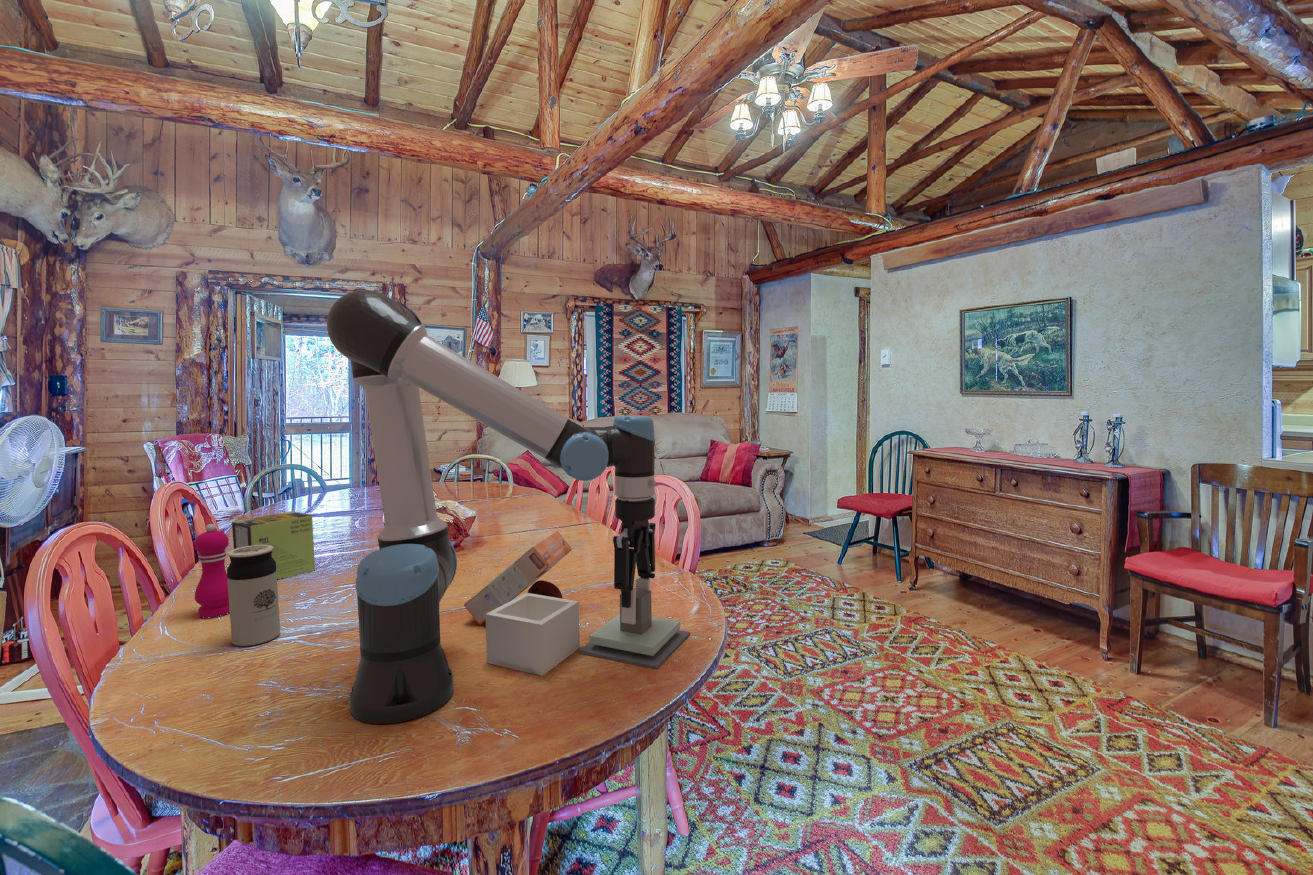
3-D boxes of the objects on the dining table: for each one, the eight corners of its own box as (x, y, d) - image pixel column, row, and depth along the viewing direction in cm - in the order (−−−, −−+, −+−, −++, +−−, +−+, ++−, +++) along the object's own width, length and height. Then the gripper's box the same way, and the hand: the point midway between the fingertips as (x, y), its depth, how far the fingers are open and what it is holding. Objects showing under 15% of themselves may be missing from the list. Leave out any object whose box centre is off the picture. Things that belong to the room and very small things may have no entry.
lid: (653, 661, 105) (652, 609, 104) (589, 648, 110) (588, 599, 110) (680, 633, 117) (680, 586, 116) (621, 623, 122) (621, 578, 122)
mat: (657, 669, 103) (657, 666, 103) (578, 652, 110) (578, 650, 110) (690, 634, 118) (690, 631, 118) (619, 621, 124) (619, 619, 124)
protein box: (316, 570, 161) (313, 514, 160) (253, 586, 148) (249, 525, 147) (296, 564, 167) (293, 510, 166) (234, 579, 154) (230, 521, 153)
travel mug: (226, 639, 117) (220, 550, 115) (272, 627, 123) (267, 542, 121) (239, 651, 112) (233, 557, 110) (286, 637, 118) (281, 548, 116)
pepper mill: (240, 612, 131) (234, 523, 129) (199, 622, 126) (193, 529, 124) (232, 604, 136) (226, 518, 134) (192, 613, 131) (186, 524, 129)
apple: (524, 613, 130) (523, 577, 129) (559, 608, 132) (558, 573, 131) (528, 626, 123) (527, 588, 122) (565, 620, 125) (565, 584, 124)
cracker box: (479, 627, 123) (550, 567, 118) (461, 605, 123) (531, 544, 119) (509, 603, 136) (574, 548, 132) (493, 583, 137) (557, 528, 132)
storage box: (542, 675, 101) (541, 624, 100) (486, 662, 106) (485, 614, 105) (579, 647, 112) (578, 601, 111) (527, 637, 117) (526, 592, 116)
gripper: (630, 507, 102) (631, 638, 103) (672, 490, 118) (672, 603, 120) (592, 504, 105) (594, 631, 107) (638, 488, 121) (639, 598, 123)
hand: (636, 616), depth 113 cm, fingers open, 5 cm apart
